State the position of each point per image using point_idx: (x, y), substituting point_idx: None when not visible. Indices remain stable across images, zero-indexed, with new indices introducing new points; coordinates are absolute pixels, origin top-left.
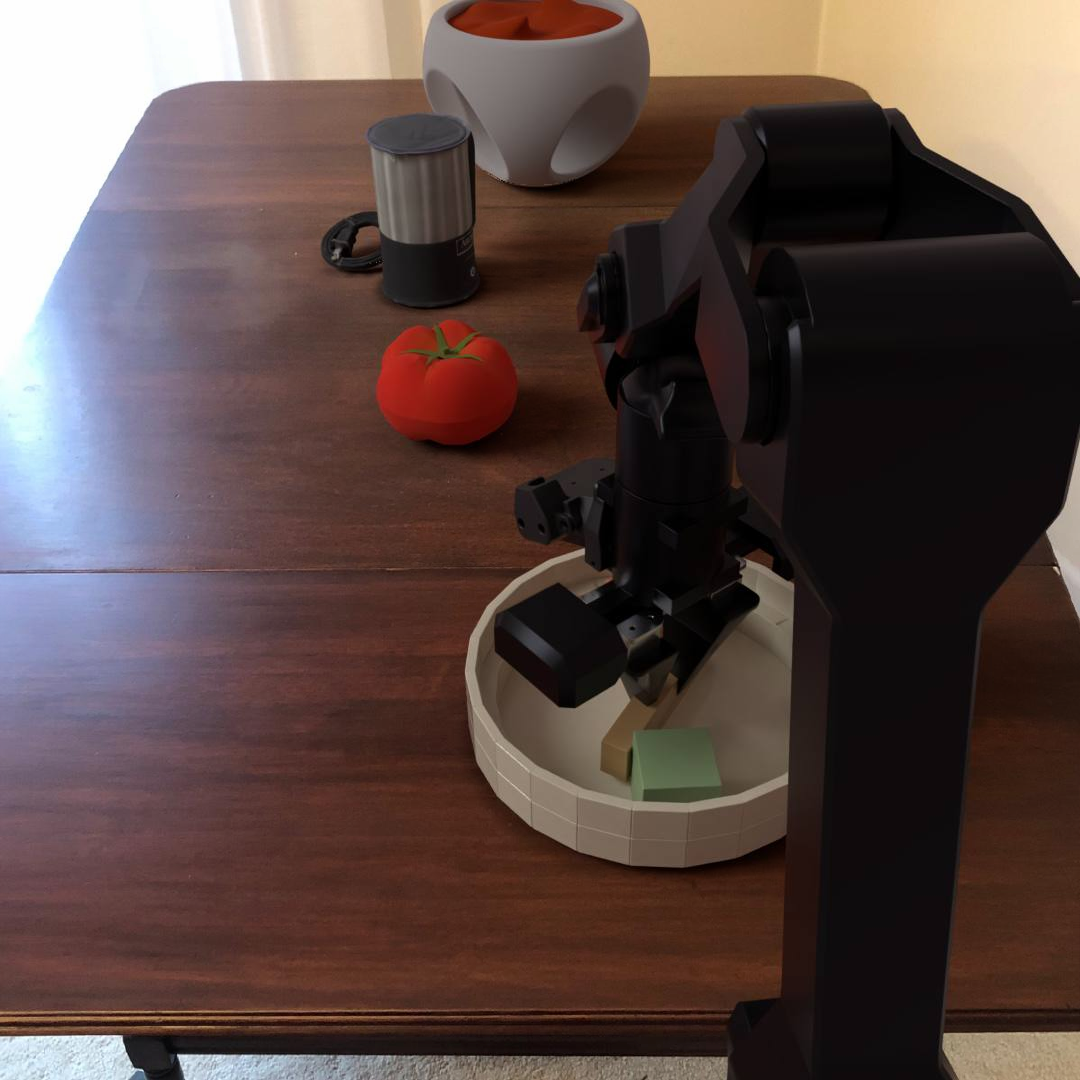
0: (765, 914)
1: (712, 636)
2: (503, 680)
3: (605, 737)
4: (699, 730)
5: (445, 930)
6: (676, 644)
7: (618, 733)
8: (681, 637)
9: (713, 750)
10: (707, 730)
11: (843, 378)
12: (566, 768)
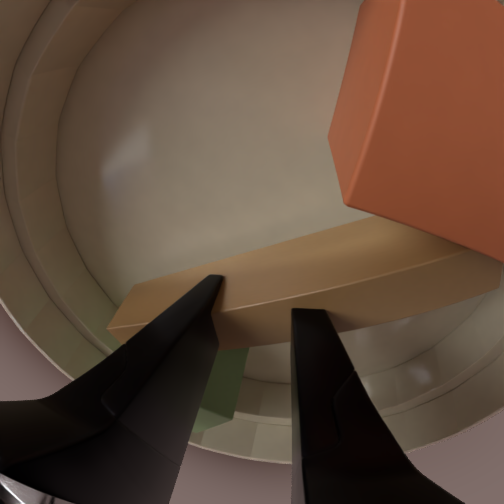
0: None
1: (291, 501)
2: (77, 53)
3: (111, 331)
4: (217, 416)
5: None
6: (294, 403)
7: (131, 336)
8: (294, 434)
9: (214, 426)
10: (227, 420)
11: None
12: (111, 238)
